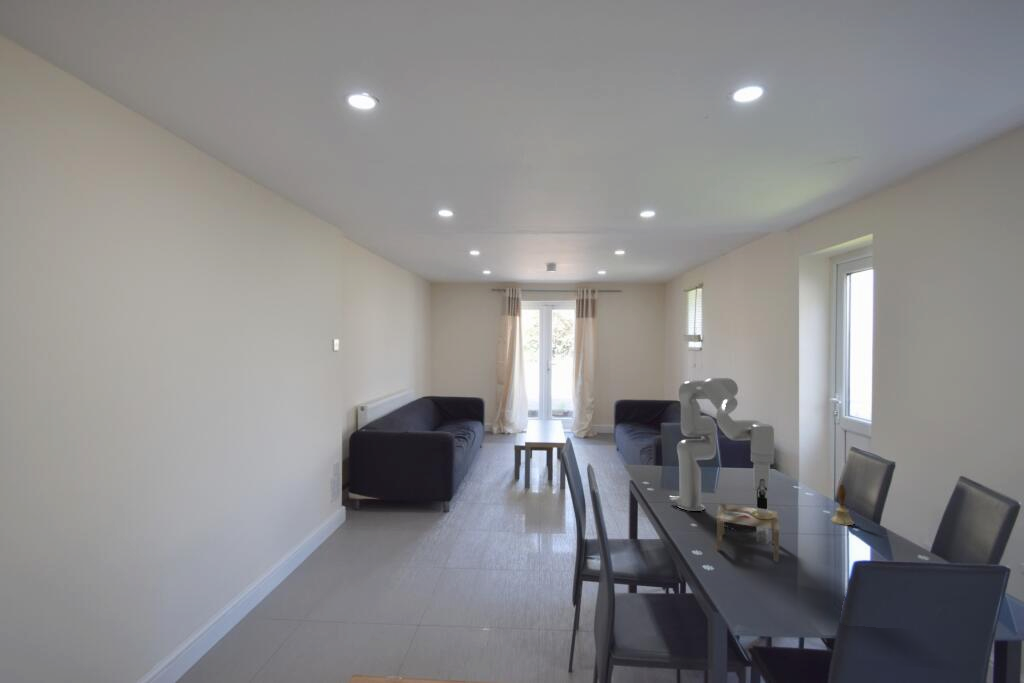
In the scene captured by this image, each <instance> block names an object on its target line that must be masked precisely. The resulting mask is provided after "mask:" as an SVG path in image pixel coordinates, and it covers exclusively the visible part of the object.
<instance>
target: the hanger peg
mask: <svg viewBox="0 0 1024 683" xmlns="http://www.w3.org/2000/svg"><path fill="white" fill-rule="evenodd" d="M757 497H758V496H757V495H756V498H757ZM759 497H760V496H759ZM766 498H767V509H761V508H757V507H756V509H757V511H752V516H753V517H754V518H757V519H761V520H773V515H772V514H771V513H768V510H769V498H768V497H767V496H766ZM755 529H756V530H755V531H756V535H755V536H756V537H755V538H756V540H755V541H756V542H757V543H759V544H764V545H767V544H769V543H770V540H769V539H770V536H769V534H770V529H767V528H761V527H756V528H755Z"/></svg>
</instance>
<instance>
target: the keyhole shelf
mask: <svg viewBox="0 0 1024 683" xmlns="http://www.w3.org/2000/svg"><path fill="white" fill-rule="evenodd" d="M726 511H728V512H731V513H732V512H739V513H746V514H750V516H752V511H757V508H754V507H748V506H741V505H733V504H727V503H720V502H719V503H718V508H717V512H716V517H715V518H716V540H717V541H716V551H717V550H722V551H723V536H722V535H724V536H725V526H724V522H730V523H736V524H742V525H749V526H755V527H761V528H767V529H769V530H771V544H772V545H773V544H774V545H773V562H776V563H779V561H780V557H779V556H780V541H779V540H780V538H779V537H780V536H779V535H780V533H779V531H780V527H781V526H780V523H779V522H780V521H779V514H778V511H777V510H776V511H775V510H769V509H768V513H771V514H772V515H773V520H761V519H757V518H753V517H750V518H743V517H736V516H730V515H724V514H726Z"/></svg>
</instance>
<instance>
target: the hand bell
mask: <svg viewBox="0 0 1024 683" xmlns="http://www.w3.org/2000/svg"><path fill="white" fill-rule="evenodd" d="M837 493H838V498H839V507H837V508H836V509H835V513H834V516H833V517H832V518H831V519H830V521H831V522H832V523H834V524H836V523H837V525H840V524H842V525H841V526H846V525H852V526H854V525H853V524H854V523H855V522H854V521H853V520H852V518H851V516H850V511H849V509H847V508H846V507H845V500H846V499H845V498H846V495H847V494H846V488H845V487H844V484H842V483H841V484H839V486H838V489H837Z"/></svg>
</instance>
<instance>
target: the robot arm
mask: <svg viewBox="0 0 1024 683" xmlns="http://www.w3.org/2000/svg"><path fill="white" fill-rule="evenodd" d="M738 392H739V387H738V384H737V382H736V381H735V380H734V379H732V378H728V377H711V378H710V377H709V378H707V379H705V380H687V381H684V382H681V384H680V386H679V387H678V399H679V403H680V431H681V434H682V435H683V436H685V437H691V438H690V439H689V438H687V439H682V440H680V441H679V442H678V443H677V445H676V452H677V456H678V476H679V482H678V483H679V484H678V486H679V490H678V491H679V492H678V493H679V495H676V496H674V495H669V500H670V501H671V502H676V503H678V505H680V507H681V508H682V507H683V509H686V510H691V511H701V512H703V511H702V510H704V509H706V507H705V505H704V504H702V469H701V467H700V466H699V464H698V462H697V461H704V460H706V461H708V460H712V459H714V458H715V456H716V453H717V426H718V428H719V429H720V430H721V432H722V433H723V434H724V435H725V436H726V438H728V439H730V440H731V441H750V461H751V463H753V467H752V468H753V469H752V474H753V475H752V478H753V479H752V482H753V483H752V485H753V490H754V491H756V509H757V508H761V509H767V498H766V497H767V492H769V489H770V481H771V480H770V476H771V475H770V473H771V465H773V464H774V463H775V460H774V459H775V457H774V456H775V450H774V449H775V448H774V447H775V428H774V426H773V425H771V424H768V423H762V422H760V421H758V420H756V419H755V420H753V419H749V420H748V419H747V420H744V419H743V420H742V419H741V420H739V419H738V420H735V419H733V418H732V417H731V416H730V415H729V414H732V413H733V412H734V411H735V410H736V409H737V407H738V399H737V398H736V397H735V396H737V395H738ZM697 400H709V401H710V402H711V404H712V405H713V407H714V408H715V409H716V410H717V411H716V414H715V415H716V416H715V417H716V422H715V419H713V417H712V416H709V415H701V406H700V403H699V402H698V401H697ZM716 423H717V424H716ZM692 437H699V438H692ZM757 496H758V497H757ZM759 496H760V497H759ZM704 511H705V510H704Z"/></svg>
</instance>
